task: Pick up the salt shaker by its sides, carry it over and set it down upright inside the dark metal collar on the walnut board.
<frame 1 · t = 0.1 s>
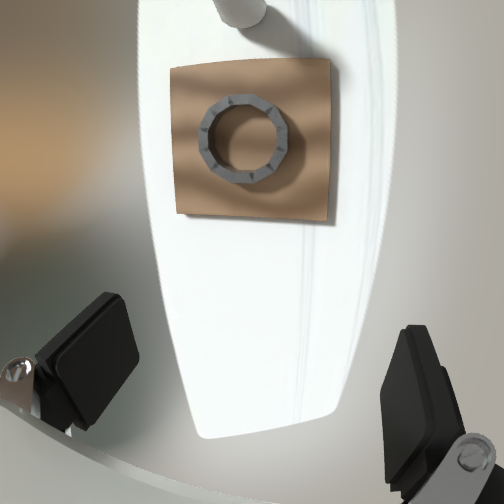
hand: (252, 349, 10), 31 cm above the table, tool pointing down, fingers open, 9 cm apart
salt shaker: (247, 14, 30), on the table
collar: (243, 138, 34), on the board, point 2 cm above the table
board: (249, 137, 37), on the table
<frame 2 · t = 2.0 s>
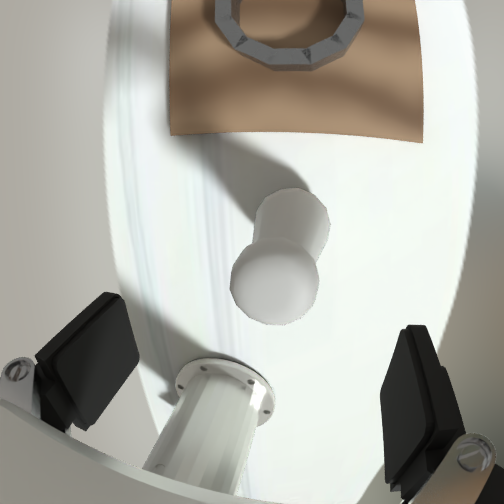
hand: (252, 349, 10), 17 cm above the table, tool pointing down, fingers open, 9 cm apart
salt shaker: (294, 216, 26), on the table
collar: (289, 6, 17), on the board, point 2 cm above the table
board: (293, 18, 19), on the table
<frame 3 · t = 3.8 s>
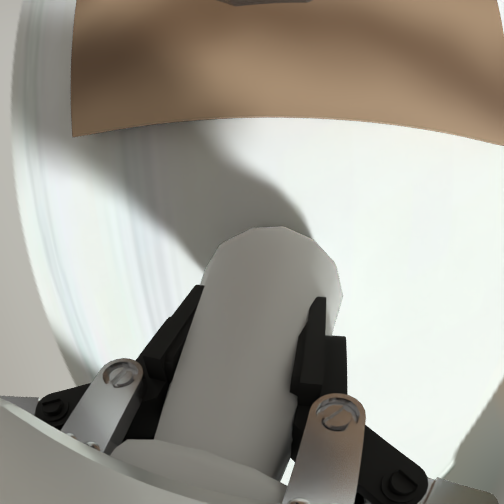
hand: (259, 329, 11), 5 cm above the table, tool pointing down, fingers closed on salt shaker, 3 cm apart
salt shaker: (280, 268, 15), on the table, touching gripper
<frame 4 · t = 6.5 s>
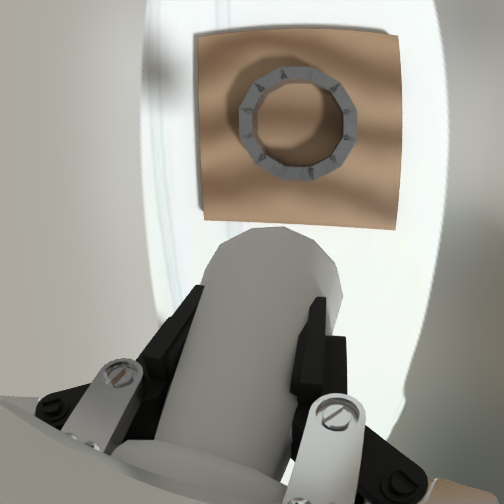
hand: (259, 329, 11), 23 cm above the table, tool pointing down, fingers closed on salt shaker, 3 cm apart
salt shaker: (280, 268, 15), point 18 cm above the table, touching gripper
collar: (298, 123, 26), on the board, point 3 cm above the table
board: (300, 124, 29), on the table
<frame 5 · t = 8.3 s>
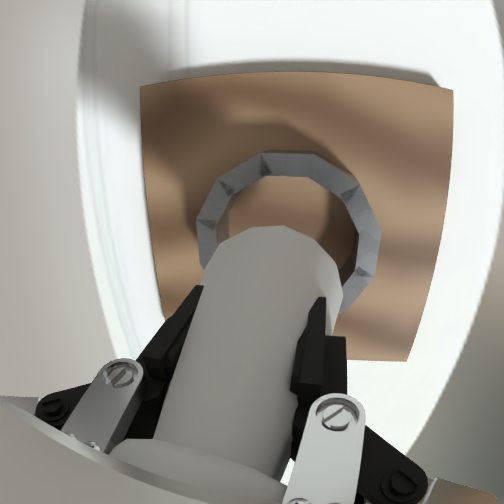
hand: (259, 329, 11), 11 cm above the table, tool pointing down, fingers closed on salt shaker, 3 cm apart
salt shaker: (280, 267, 15), point 7 cm above the table, touching gripper
collar: (288, 240, 18), on the board, point 2 cm above the table
board: (292, 225, 21), on the table
when the fingers open (8 cm above the table, at t = 9.5 s): salt shaker stays where it is, resting on board.
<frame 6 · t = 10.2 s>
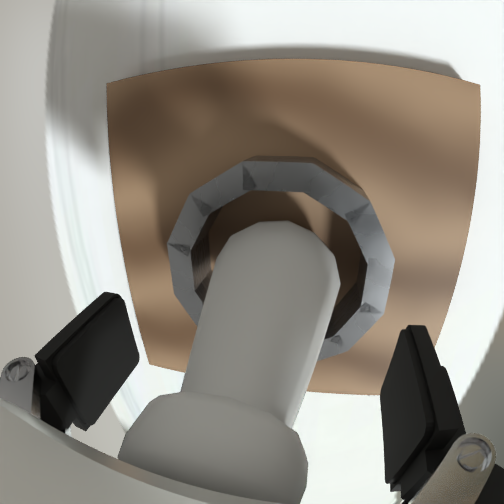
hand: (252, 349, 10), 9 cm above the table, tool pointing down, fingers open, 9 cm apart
salt shaker: (283, 259, 16), point 1 cm above the table, touching board
collar: (279, 267, 15), on the board, point 3 cm above the table
board: (286, 246, 17), on the table
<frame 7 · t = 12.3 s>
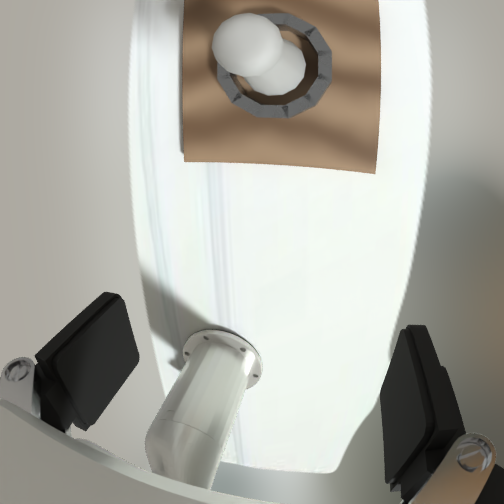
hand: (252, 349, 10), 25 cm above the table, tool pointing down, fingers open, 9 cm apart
salt shaker: (277, 69, 26), point 1 cm above the table, touching board
collar: (275, 65, 25), on the board, point 2 cm above the table
board: (279, 69, 27), on the table
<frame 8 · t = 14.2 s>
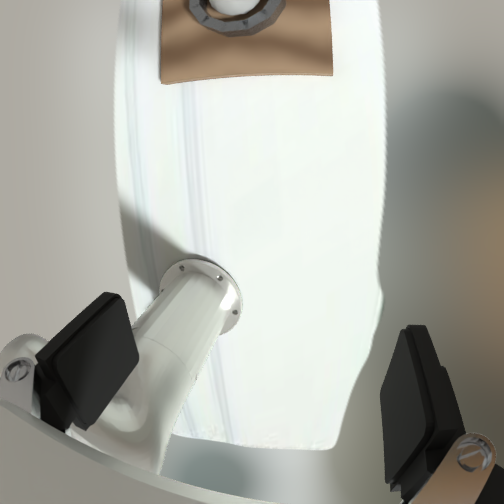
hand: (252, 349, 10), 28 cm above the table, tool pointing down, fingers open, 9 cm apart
salt shaker: (240, 1, 26), point 1 cm above the table, touching board
board: (243, 3, 27), on the table
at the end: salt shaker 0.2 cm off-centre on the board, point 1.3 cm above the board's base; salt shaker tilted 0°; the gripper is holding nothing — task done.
